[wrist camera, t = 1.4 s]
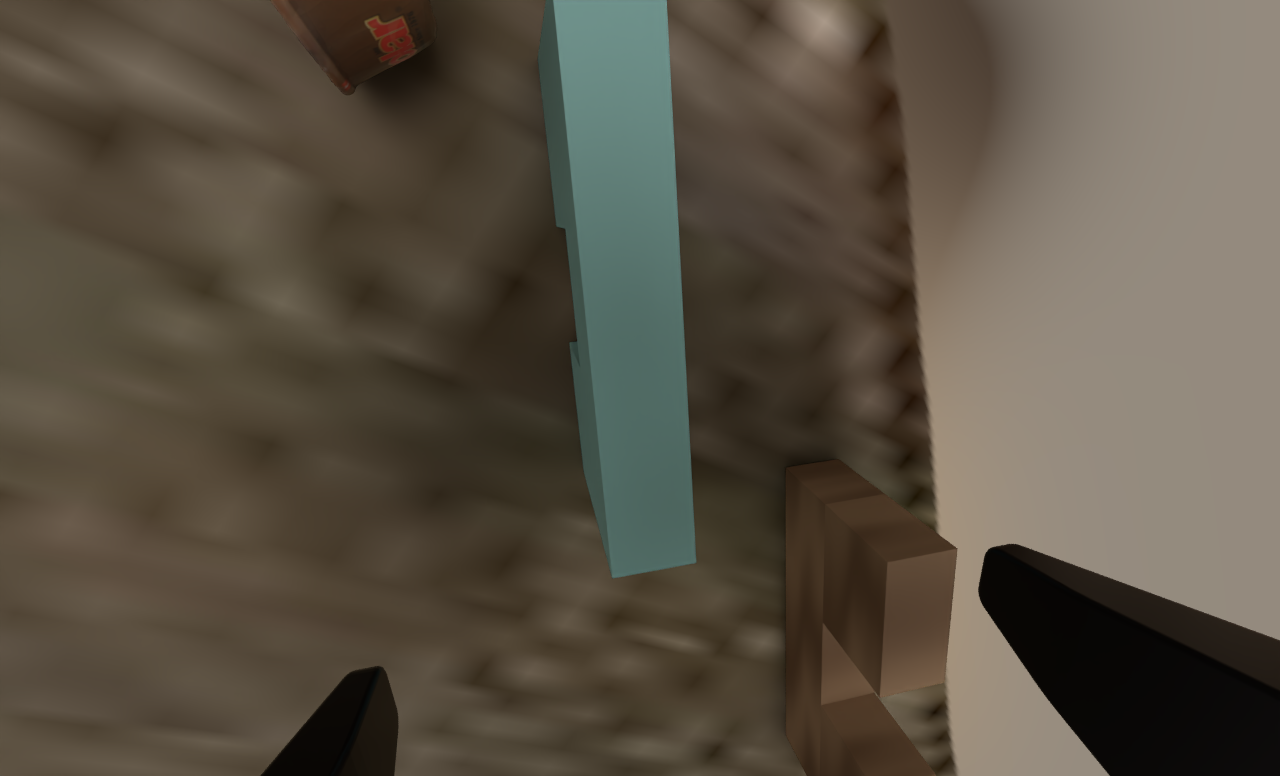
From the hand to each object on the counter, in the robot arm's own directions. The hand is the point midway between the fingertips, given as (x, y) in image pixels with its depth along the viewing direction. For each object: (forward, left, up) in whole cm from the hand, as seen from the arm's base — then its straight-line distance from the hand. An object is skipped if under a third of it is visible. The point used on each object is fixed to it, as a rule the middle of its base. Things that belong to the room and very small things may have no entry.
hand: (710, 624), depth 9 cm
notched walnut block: (-9, -7, -11) cm, 16 cm away
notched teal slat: (+4, 0, -11) cm, 11 cm away
